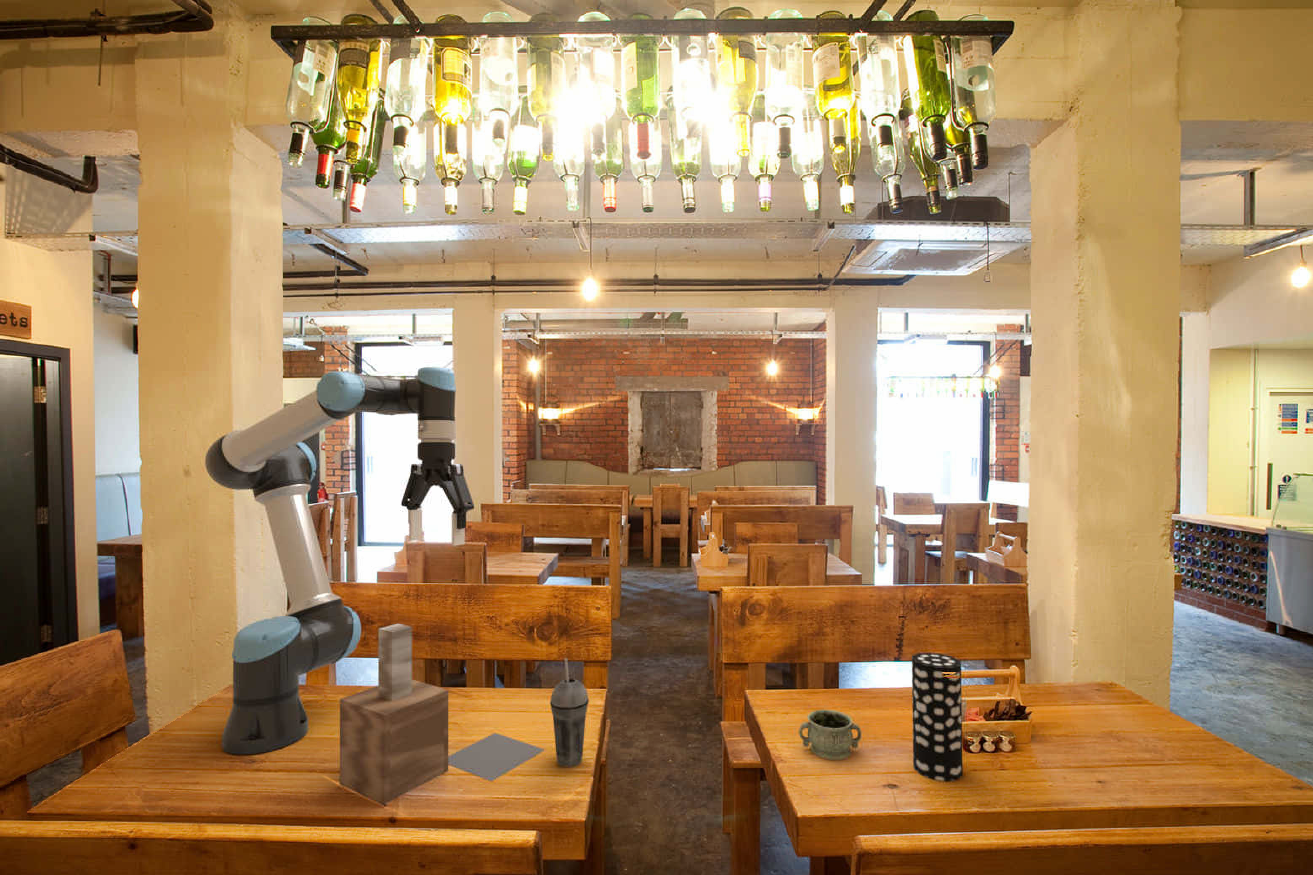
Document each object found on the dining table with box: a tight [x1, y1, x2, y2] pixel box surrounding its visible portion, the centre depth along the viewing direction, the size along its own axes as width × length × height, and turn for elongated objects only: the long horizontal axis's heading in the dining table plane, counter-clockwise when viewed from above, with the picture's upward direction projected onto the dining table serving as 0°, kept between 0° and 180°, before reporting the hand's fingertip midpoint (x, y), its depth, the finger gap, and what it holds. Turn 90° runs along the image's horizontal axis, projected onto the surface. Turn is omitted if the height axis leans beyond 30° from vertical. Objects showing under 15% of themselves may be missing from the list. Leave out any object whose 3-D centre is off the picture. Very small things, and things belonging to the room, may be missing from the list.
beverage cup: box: [549, 657, 590, 768], centre depth 120 cm, size 7×7×20 cm
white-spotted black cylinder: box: [911, 652, 964, 782], centre depth 117 cm, size 8×8×20 cm
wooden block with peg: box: [339, 623, 449, 807], centre depth 115 cm, size 13×13×27 cm
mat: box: [448, 732, 546, 782], centre depth 123 cm, size 14×14×1 cm
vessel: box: [798, 709, 862, 761], centre depth 125 cm, size 12×9×6 cm
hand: (436, 542), depth 134 cm, fingers open, 13 cm apart
